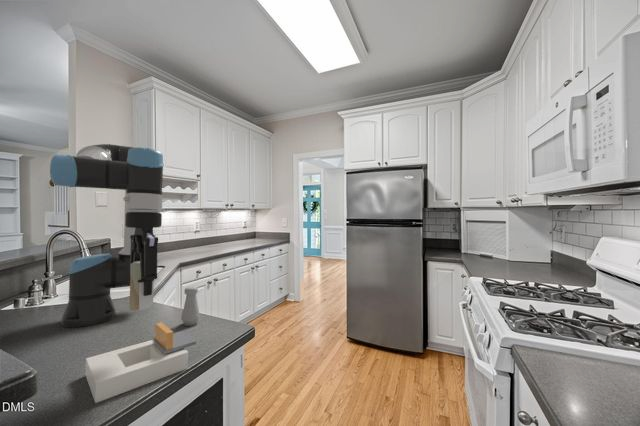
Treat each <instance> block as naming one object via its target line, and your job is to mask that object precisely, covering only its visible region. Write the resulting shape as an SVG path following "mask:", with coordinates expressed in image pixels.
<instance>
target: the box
mask: <svg viewBox="0 0 640 426" xmlns="http://www.w3.org/2000/svg"><path fill="white" fill-rule="evenodd" d="M149 275H150V274H149ZM138 280H141V267H140V261H134V262H133V263H132V264H131V269H130V286H129V311H137V310H138V311H139V285H140V283H138ZM153 284H154V282H153Z"/></svg>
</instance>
